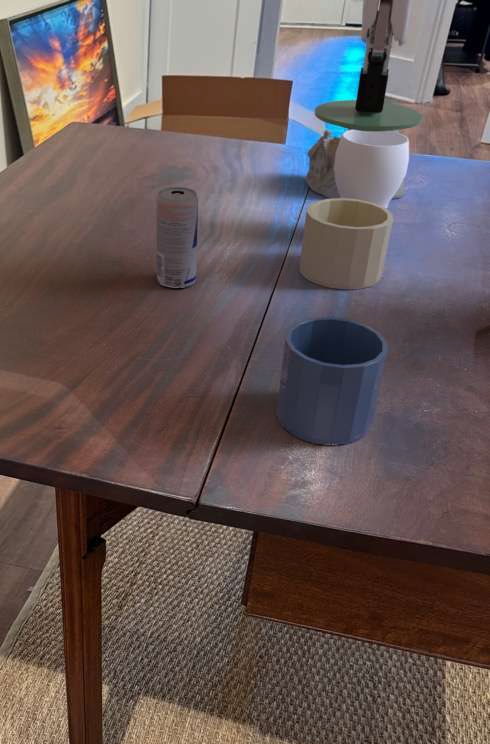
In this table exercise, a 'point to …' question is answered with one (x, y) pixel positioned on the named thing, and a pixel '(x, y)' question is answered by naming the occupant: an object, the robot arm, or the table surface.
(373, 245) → the tin
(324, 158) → the ceramic cottage
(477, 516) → the table surface
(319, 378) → the tumbler
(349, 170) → the cup
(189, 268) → the energy drink
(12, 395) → the table surface
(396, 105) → the tin lid
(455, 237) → the table surface
